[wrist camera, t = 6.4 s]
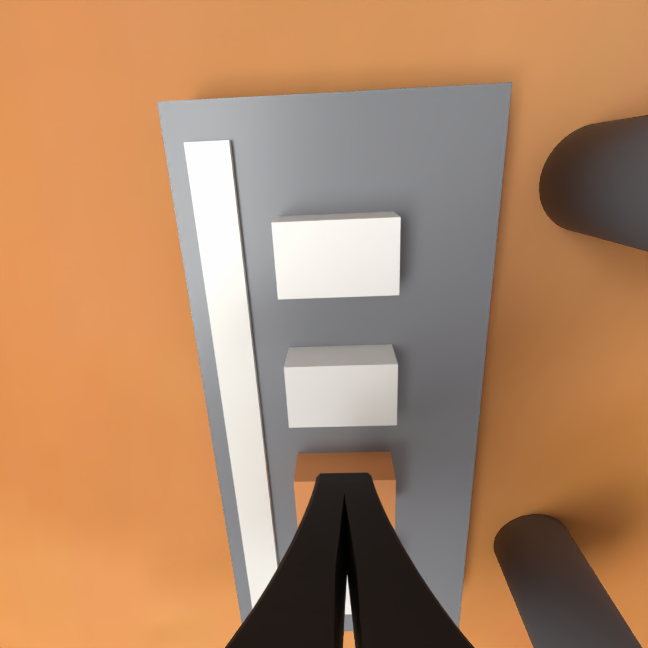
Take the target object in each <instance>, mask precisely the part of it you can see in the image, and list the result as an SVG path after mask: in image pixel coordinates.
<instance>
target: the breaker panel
mask: <svg viewBox="0 0 648 648" xmlns="http://www.w3.org/2000/svg"><path fill="white" fill-rule="evenodd" d="M511 88H512V82H511V83H492V84H474V85H456V86H437V87H419V88H400V89H382V90H364V91H345V92H327V93H308V94H290V95H272V96H253V97H235V98H216V99H198V100H180V101H161V102H157V105H158V111H159V117H160V123H161V130H162V136H163V142H164V148H165V154H166V160H167V166H168V173H169V179H170V185H171V191H172V197H173V203H174V209H175V216H176V222H177V228H178V234H179V240H180V246H181V252H182V259H183V265H184V271H185V277H186V283H187V289H188V295H189V302H190V308H191V314H192V320H193V326H194V332H195V338H196V345H197V351H198V357H199V363H200V369H201V375H202V381H203V388H204V394H205V400H206V406H207V412H208V418H209V424H210V431H211V437H212V443H213V449H214V455H215V461H216V467H217V474H218V480H219V486H220V492H221V498H222V504H223V510H224V517H225V523H226V529H227V535H228V541H229V547H230V553H231V560H232V566H233V572H234V578H235V584H236V590H237V596H238V603H239V609H240V615H241V621H242V623H243V622H244V620H245V619H246V618H247V616H248V615H249V613H250V612H251V610H252V609H253V607H254V606H255V604H256V603H257V601H258V600H259V598H260V596H261V595H262V593H263V592H264V590H265V588H266V587H267V585H268V584H269V582H270V580H271V578H272V577H273V575H274V573H275V572H276V570H277V568H278V566H279V564H280V562H281V560H282V559H283V557H284V555H285V553H286V551H287V549H288V547H289V545H290V544H291V542H292V540H293V537H294V535H295V533H296V531H297V529H298V527H299V524H300V522H301V520H302V518H303V516H304V513H305V511H306V508H307V506H308V503H309V500H310V498H311V495H312V492H313V488H314V485H315V481H316V477H317V476H318V475H319V474H320V473H364V472H368V473H369V474H370V475H371V476H372V479H373V483H374V486H375V489H376V492H377V494H378V497H379V499H380V501H381V504H382V506H383V508H384V510H385V512H386V515H387V517H388V519H389V521H390V523H391V525H392V526H393V528H394V530H395V532H396V534H397V536H398V538H399V540H400V541H401V543H402V545H403V547H404V548H405V550H406V552H407V554H408V555H409V557H410V559H411V560H412V562H413V564H414V565H415V567H416V568H417V570H418V572H419V573H420V575H421V576H422V578H423V579H424V581H425V582H426V584H427V585H428V587H429V588H430V590H431V591H432V593H433V594H434V596H435V597H436V598H437V600H438V601H439V603H440V604H441V605H442V607H443V608H444V610H445V611H446V612H447V614H448V615H449V616H450V618H451V619H452V620H453V622H454V623H455V624H456V626H457V627H458V628H459V620H460V610H461V600H462V590H463V579H464V569H465V559H466V549H467V538H468V528H469V518H470V508H471V497H472V487H473V477H474V467H475V457H476V446H477V436H478V426H479V416H480V405H481V395H482V385H483V375H484V364H485V354H486V344H487V334H488V324H489V313H490V303H491V293H492V283H493V272H494V262H495V252H496V242H497V231H498V221H499V211H500V201H501V190H502V180H503V170H504V160H505V150H506V139H507V129H508V119H509V109H510V98H511ZM344 631H354V630H353V622H352V613H351V604H350V596H349V587H348V578H347V585H346V602H345V619H344Z"/></svg>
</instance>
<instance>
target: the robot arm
mask: <svg viewBox="0 0 648 648" xmlns="http://www.w3.org/2000/svg"><path fill="white" fill-rule="evenodd" d="M347 578H348V587H349V596H350V604H351V613H352V622H353V630H354V639H355V647H356V648H474V647H473V646H472V644H471V643H470V642H469V641H468V640H467V638H466V637H465V636H464V635H463V633H462V632H461V631H460V630H459V628H458V627H457V626H456V624H455V623H454V622H453V620H452V619H451V618H450V616H449V615H448V614H447V612H446V611H445V610H444V608H443V607H442V605H441V604H440V603H439V601H438V600H437V598H436V597H435V596H434V594H433V593H432V591H431V590H430V588H429V587H428V585H427V584H426V582H425V581H424V579H423V578H422V576H421V575H420V573H419V572H418V570H417V568H416V567H415V565H414V564H413V562H412V560H411V559H410V557H409V555H408V554H407V552H406V550H405V548H404V547H403V545H402V543H401V541H400V540H399V538H398V536H397V534H396V532H395V530H394V528H393V526H392V525H391V523H390V521H389V519H388V517H387V515H386V512H385V510H384V508H383V506H382V504H381V501H380V499H379V497H378V494H377V492H376V489H375V486H374V483H373V479H372V476H371V475H370V474H369V473H368V472H364V473H320V474H319V475H318V476H317V477H316V481H315V485H314V488H313V492H312V495H311V498H310V500H309V503H308V506H307V508H306V511H305V513H304V516H303V518H302V520H301V522H300V524H299V527H298V529H297V531H296V533H295V535H294V537H293V540H292V542H291V544H290V545H289V547H288V549H287V551H286V553H285V555H284V557H283V559H282V560H281V562H280V564H279V566H278V568H277V570H276V572H275V573H274V575H273V577H272V578H271V580H270V582H269V584H268V585H267V587H266V588H265V590H264V592H263V593H262V595H261V596H260V598H259V600H258V601H257V603H256V604H255V606H254V607H253V609H252V610H251V612H250V613H249V615H248V616H247V618H246V619H245V620H244V622H243V623H242V625H241V626H240V628H239V629H238V630H237V632H236V633H235V635H234V636H233V637H232V639H231V640H230V642H229V643H228V644H227V646H226V647H225V648H343V636H344V619H345V602H346V585H347Z"/></svg>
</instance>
